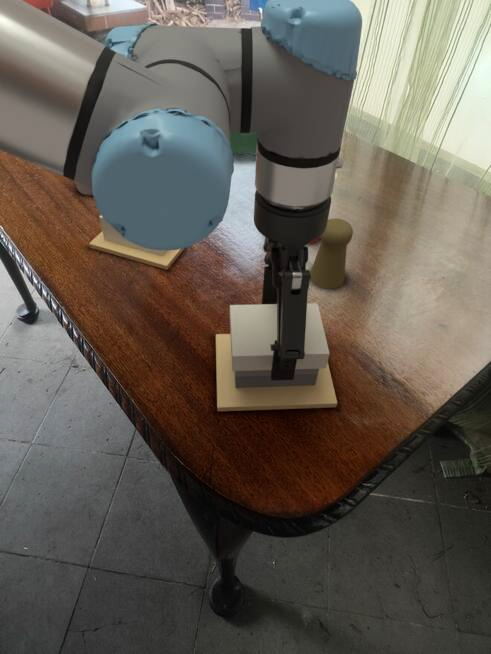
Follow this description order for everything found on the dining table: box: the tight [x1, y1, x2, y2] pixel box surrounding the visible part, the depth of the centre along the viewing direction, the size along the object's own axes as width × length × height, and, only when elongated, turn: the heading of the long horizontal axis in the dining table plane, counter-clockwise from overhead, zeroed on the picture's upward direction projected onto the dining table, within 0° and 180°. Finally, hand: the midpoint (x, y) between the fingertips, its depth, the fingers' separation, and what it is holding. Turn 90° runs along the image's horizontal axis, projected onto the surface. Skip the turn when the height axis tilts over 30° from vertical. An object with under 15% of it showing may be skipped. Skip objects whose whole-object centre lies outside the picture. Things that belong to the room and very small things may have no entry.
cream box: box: [88, 214, 186, 271], centre depth 83 cm, size 16×13×6 cm
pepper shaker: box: [310, 218, 354, 289], centre depth 75 cm, size 6×6×11 cm
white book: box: [229, 302, 331, 371], centre depth 59 cm, size 12×9×3 cm
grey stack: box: [215, 333, 338, 412], centre depth 63 cm, size 16×13×6 cm
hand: (276, 338), depth 60 cm, fingers open, 12 cm apart
